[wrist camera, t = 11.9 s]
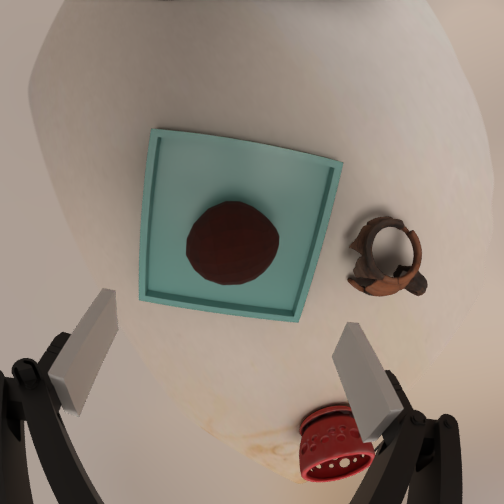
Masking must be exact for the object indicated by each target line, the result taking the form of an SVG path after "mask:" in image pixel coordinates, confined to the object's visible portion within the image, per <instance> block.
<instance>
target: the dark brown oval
mask: <svg viewBox="0 0 504 504" xmlns="http://www.w3.org/2000/svg"><path fill="white" fill-rule="evenodd" d="M279 238H280V236H279V234H278V231H277V229H276V227H275V226H274V225H273V224H272V222H271V221H270V220H269V219H268V218H267V217H266V216H265V215H264V214H262V213H261V212H260V211H258V210H257V209H255V208H254V207H253V206H251V205H248V204H246V203H243V202H241V201H224V202H222V203H220V204H217V205H215V206H213V207H211V208H208V209H207V210H206V211H205V212H204V213H203V214H202V215H201V216H200V217H199V218H198V220H197V221H196V222H195V223H194V224H193V226H192V228H191V230H190V232H189V234H188V237H187V240H186V256H187V258H188V260H189V262H190V264H191V266H192V267H193V269H194V270H195V271H196V272H197V273H198V274H200V275H201V276H202V277H203V278H204V279H205V280H208V281H211V282H214V283H217V284H220V285H241V284H244V283H247V282H250V281H252V280H255V279H256V278H257V277H259V276H260V275H261V274H263V273H264V272H265V271H266V270H267V268H268V267H269V266H270V265H271V263H272V262H273V260H274V258H275V256H276V254H277V251H278V248H279Z"/></svg>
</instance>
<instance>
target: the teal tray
mask: <svg viewBox="0 0 504 504" xmlns="http://www.w3.org/2000/svg"><path fill="white" fill-rule="evenodd" d="M342 166H343V162H340V161H336V160H332V159H329V158H325V157H321V156H317V155H312V154H308V153H304V152H300V151H295V150H291V149H286V148H281V147H276V146H272V145H266V144H261V143H256V142H250V141H245V140H239V139H233V138H227V137H220V136H213V135H206V134H199V133H191V132H182V131H173V130H163V129H151V133H150V140H149V147H148V154H147V162H146V171H145V180H144V190H143V201H142V214H141V229H140V251H139V300H141V301H146V302H151V303H157V304H163V305H169V306H174V307H181V308H187V309H193V310H200V311H206V312H213V313H220V314H228V315H235V316H243V317H251V318H259V319H268V320H277V321H287V322H297V323H298V322H299V319H300V316H301V313H302V310H303V307H304V304H305V301H306V298H307V295H308V291H309V288H310V285H311V282H312V278H313V275H314V272H315V268H316V265H317V262H318V258H319V255H320V251H321V248H322V244H323V241H324V237H325V233H326V230H327V226H328V222H329V219H330V215H331V211H332V207H333V203H334V199H335V195H336V191H337V187H338V183H339V179H340V175H341V171H342ZM224 201H241V202H243V203H246V204H248V205H251V206H253V207H254V208H255V209H257V210H258V211H260V212H261V213H262V214H264V215H265V216H266V217H267V218H268V219H269V220H270V221H271V222H272V224H273V225H274V226H275V227H276V229H277V231H278V234H279V236H280V238H279V248H278V251H277V254H276V256H275V258H274V260H273V262H272V263H271V265H270V266H269V267H268V268H267V270H266V271H265V272H264V273H263V274H261V275H260V276H259V277H257V278H256V279H255V280H252V281H250V282H247V283H244V284H241V285H220V284H217V283H214V282H211V281H208V280H205V279H204V278H203V277H202V276H201V275H200V274H198V273H197V272H196V271H195V270H194V269H193V267H192V266H191V264H190V262H189V260H188V258H187V256H186V240H187V237H188V234H189V232H190V230H191V228H192V226H193V224H194V223H195V222H196V221H197V220H198V218H199V217H200V216H201V215H202V214H203V213H204V212H205V211H206V210H207V209H208V208H211V207H213V206H215V205H217V204H220V203H222V202H224Z"/></svg>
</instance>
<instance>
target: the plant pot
mask: <svg viewBox="0 0 504 504" xmlns="http://www.w3.org/2000/svg"><path fill="white" fill-rule="evenodd" d="M300 435H301V436H302V439H301V443H300V450H299V459H300V471H301V476H302V478H303V479H305V480H307V481H311V482H328V481H335V480H340V479H343V478H347V477H349V476H352V475H355V474H357V473H359V472H361V471H363V470H364V469H366V468H367V467H369V466H370V465H371V463H372V461H373V459H374V457H375V452H374V448H373V445H372V443H371V442H366V443H363V441H362V438H361V435H360V433H359V430H358V427H357V424H356V421H355V418H354V415H353V413H352V410H351V407H348V406H331V407H327V408H323V409H321V410H318V411H316V412H314V413H313V414H311V415H310V416H308V417H307V418H306V419H305V420H304V421H303V423H302V424H301V426H300ZM362 454H365V455H364V457H362ZM336 458H338V459H337V460H333V459H336ZM344 458H347V459H349V460H350V464H349V465H348V466H347V467H344V468H343V467H341V466H340V464H339V463H340V461H341V460H342V459H344ZM354 458H357V461H356V462H354V461H353V460H354ZM319 464H320V465H321V468H320V469H319V468H317V467H316V466H317V465H319ZM330 464H333V465H334V467H333V468H330V467H329V465H330ZM310 469H312V470H313V471H311V470H310Z"/></svg>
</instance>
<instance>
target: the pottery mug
mask: <svg viewBox="0 0 504 504" xmlns="http://www.w3.org/2000/svg"><path fill="white" fill-rule="evenodd" d="M386 227H396V228H398V229H400V230H402V231H404V232H405V233H406V235H407V236H408V238H409V239H410V241H411V243H412V247H413V252H414V258H413V263H412V266H402V265H399V266H398V267H397V269H396V271H395V272H394V273H393V276H394V277H390V276H387V275H385V274H383V273H382V272H381V271H380V270H379V269H378V267H377V266H376V264H375V261H374V259H373V255H372V245H373V241H374V238H375V236H376V234H377V233H378V232H379V231H380V230H381V229H383V228H386ZM349 247H350V248H352V249H354V250H356V251H357V252H359V253H360V254H361V255H362V256H361V257H360V258H359V259H358V260H357V262H356V266H355V268H354V269H353V272H354V275H355V277H356V278H358V277H363V278H370V279H376V280H375V282H373V283H372V284H370V285H368V286H366V287H365V286H361V285H358V284H357V283H356V282H355V281H354V280H351V279H348V282H349V283H350V284H351V285H352V286H353V287H354V288H356V289H358V290H359V291H361V292H363V293H365V294H368V295H372V296H387V295H392V294H395V293H397V292H398V291H399V290H402V289H406V290H407V291H409V292H411V293H412V294H414V295H416V296H420V295H422V294H424V293H425V291H426V288H427V280H426V279H425V277H424V276H423V275H422V274H420V272H419V271H418V270H419V267H420V264H421V259H422V249H421V244H420V241H419V238H418V236H417V234H416V233H415V231H414V230H412V231H409V230H408V229H407V228H406V227H405V226H404V223H403V221H402V220H399V219H393V218H391V217H378V218H375V219H373V220H370V221H368V222H367V225H365V226H363V228H362V229H361V231H360V233H359V235H358V237H357V238H356V239H355V241H354V242H352V244H351V245H350V246H349Z"/></svg>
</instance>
